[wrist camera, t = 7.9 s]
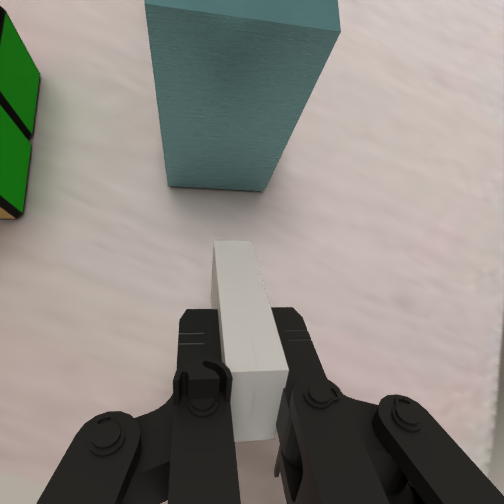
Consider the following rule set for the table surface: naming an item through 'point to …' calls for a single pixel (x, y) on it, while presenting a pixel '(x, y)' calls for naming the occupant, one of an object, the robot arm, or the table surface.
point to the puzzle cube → (15, 117)
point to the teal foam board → (234, 83)
